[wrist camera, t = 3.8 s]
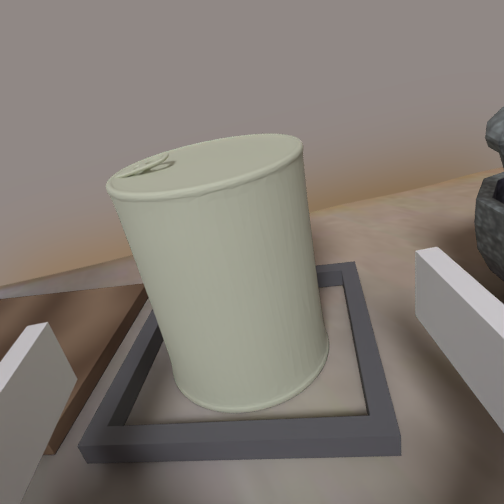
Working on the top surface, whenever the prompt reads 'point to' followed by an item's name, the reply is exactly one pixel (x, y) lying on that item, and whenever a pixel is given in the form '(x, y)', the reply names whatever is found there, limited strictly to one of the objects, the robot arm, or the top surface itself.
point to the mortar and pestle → (492, 203)
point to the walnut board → (75, 335)
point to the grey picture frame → (253, 431)
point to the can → (228, 267)
